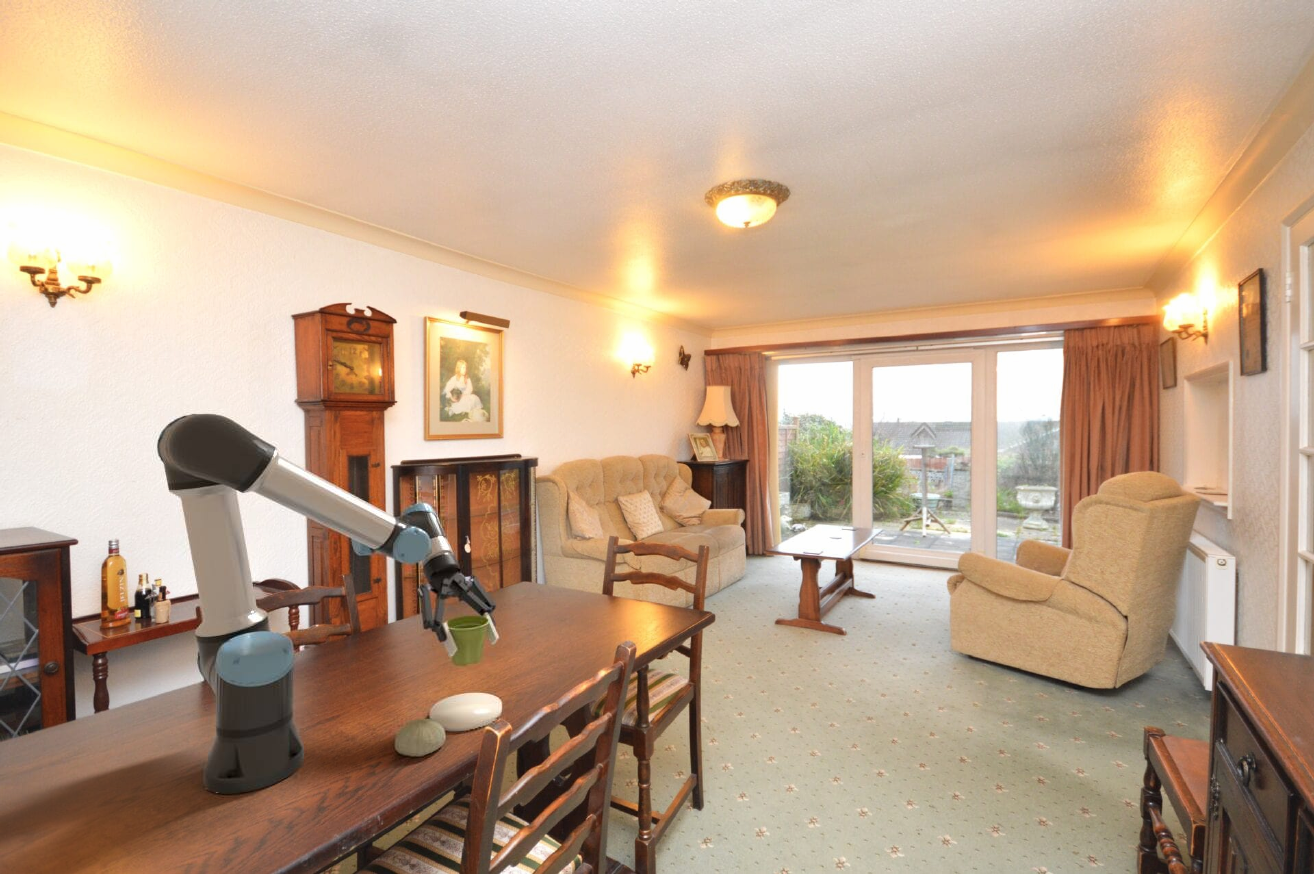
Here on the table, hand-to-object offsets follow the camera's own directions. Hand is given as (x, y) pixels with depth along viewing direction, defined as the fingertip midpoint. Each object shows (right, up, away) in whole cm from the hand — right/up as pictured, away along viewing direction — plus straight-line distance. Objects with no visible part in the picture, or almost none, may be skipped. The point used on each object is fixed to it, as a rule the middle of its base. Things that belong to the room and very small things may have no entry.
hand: (474, 647), depth 130 cm
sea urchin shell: (-7, -16, -12) cm, 21 cm away
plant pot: (-2, -4, +2) cm, 5 cm away
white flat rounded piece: (-2, -15, +2) cm, 16 cm away
